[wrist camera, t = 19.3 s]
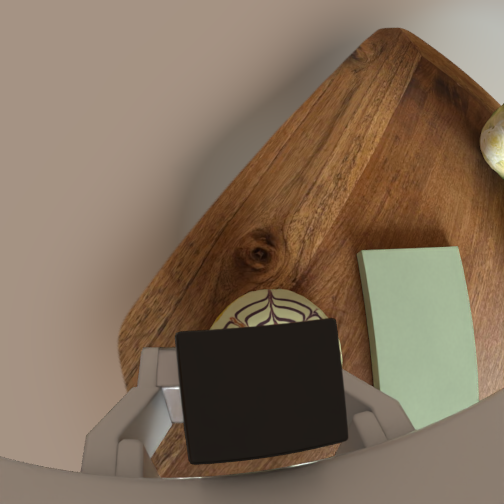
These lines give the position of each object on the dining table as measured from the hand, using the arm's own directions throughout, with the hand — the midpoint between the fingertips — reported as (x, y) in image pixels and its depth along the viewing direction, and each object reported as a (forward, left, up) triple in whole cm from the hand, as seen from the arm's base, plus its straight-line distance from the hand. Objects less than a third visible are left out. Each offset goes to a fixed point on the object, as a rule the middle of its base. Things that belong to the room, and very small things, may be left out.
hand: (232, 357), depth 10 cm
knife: (0, 0, -12) cm, 12 cm away
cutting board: (-12, -16, -16) cm, 26 cm away
